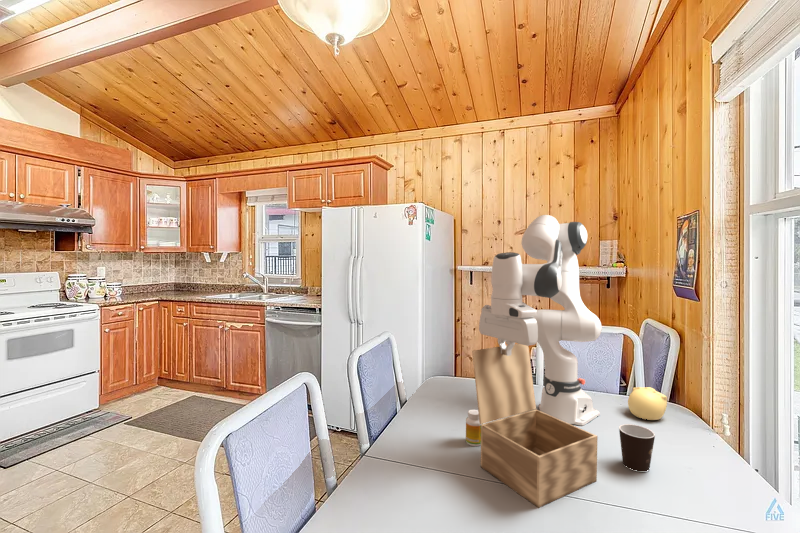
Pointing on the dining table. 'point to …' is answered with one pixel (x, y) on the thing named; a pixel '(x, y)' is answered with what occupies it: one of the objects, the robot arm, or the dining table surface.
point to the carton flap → (503, 382)
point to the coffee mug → (636, 446)
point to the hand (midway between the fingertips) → (505, 354)
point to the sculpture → (647, 403)
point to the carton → (539, 455)
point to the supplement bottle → (473, 428)
